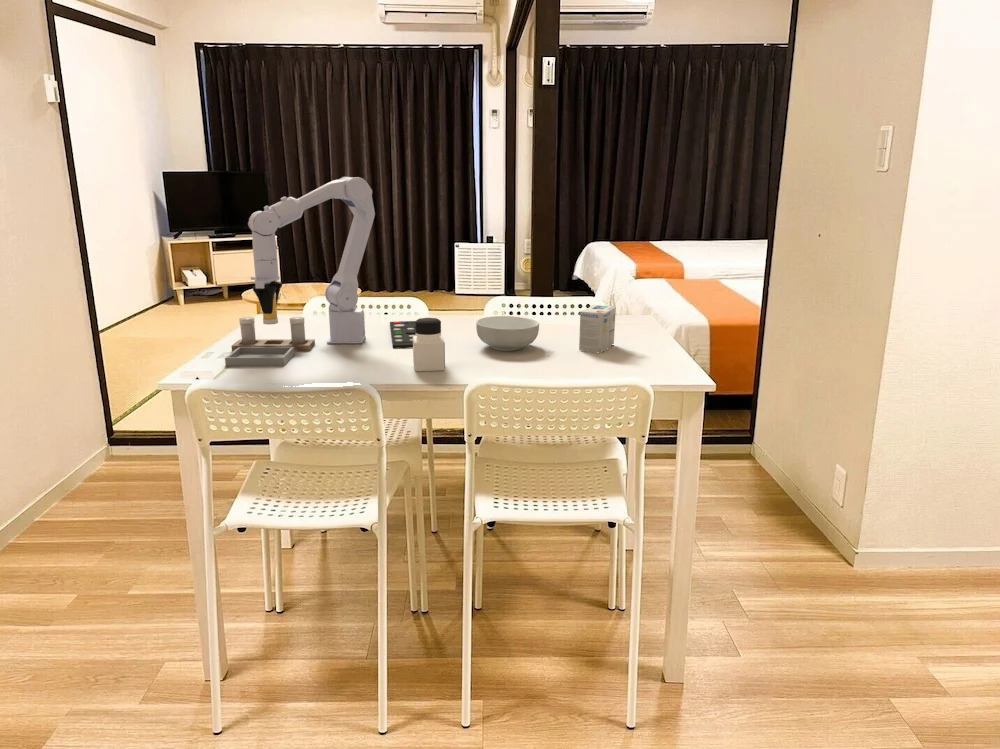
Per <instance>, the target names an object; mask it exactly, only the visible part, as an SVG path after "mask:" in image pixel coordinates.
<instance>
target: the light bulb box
mask: <svg viewBox="0 0 1000 749" xmlns="http://www.w3.org/2000/svg"><path fill="white" fill-rule="evenodd" d="M616 308H617V307H616V306H611V305H598V304H592V305H591V306H589V307H588V308H586V309H584V310H582V311H581V310H580V312H579V313H580V314H579V315H580V317H579V337H578V338H579V339H578V340H579V344H578V351H579V350H582V351H581V352H586V351H589V352H588V353H594V352H599V353H598V354H603V353H604V352H605V351H607V350H608V349H610V348H611V347H612V346H611V345H612V344H614V345H615V328H616V310H617V309H616ZM610 346H611V347H610ZM609 347H610V348H609ZM607 348H608V349H607ZM606 349H607V350H606ZM603 351H604V352H603ZM602 352H603V353H602Z"/></svg>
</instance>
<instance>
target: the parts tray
mask: <svg viewBox="0 0 1000 749" xmlns="http://www.w3.org/2000/svg"><path fill="white" fill-rule="evenodd" d="M295 355H296V351H295V349H294V347H238V348H237V349H236V350H234V351H231V352H230V353H229V354H227V356H225V357H224V364H225V367H257V366H258V367H262V366H263V367H268V366H269V367H271V366H272V367H280V366H281V367H284V366H286V365H287V364H288V363H289V362H290V360H291V359H292V358H294V356H295Z"/></svg>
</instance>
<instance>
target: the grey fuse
mask: <svg viewBox="0 0 1000 749" xmlns="http://www.w3.org/2000/svg"><path fill="white" fill-rule="evenodd" d="M289 324H290V334H291V339H292V344H306V342H305V339H306V332H305V317H303V316H302V317H301V316H294V317H290V318H289Z"/></svg>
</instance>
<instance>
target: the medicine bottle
mask: <svg viewBox="0 0 1000 749" xmlns="http://www.w3.org/2000/svg"><path fill="white" fill-rule="evenodd" d="M415 321H416V322H415V329H416V336H413V348H412V353H413V356H412V357H413V360H412V361H413V363H412V364H413V368H414V371H415V372H418V373H419V372H435V371H437V372H439V371H442V372H443V371H445V370H446V355H445V354H446V349H445V348H446V347H445V346H446V345H445V344H446V343H445V341H444V338H443V336H442V321H441V320H440V319H439V318H437V317H433V316H432V317H429V316H427V317H420V318H417V319H416V320H415Z"/></svg>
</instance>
